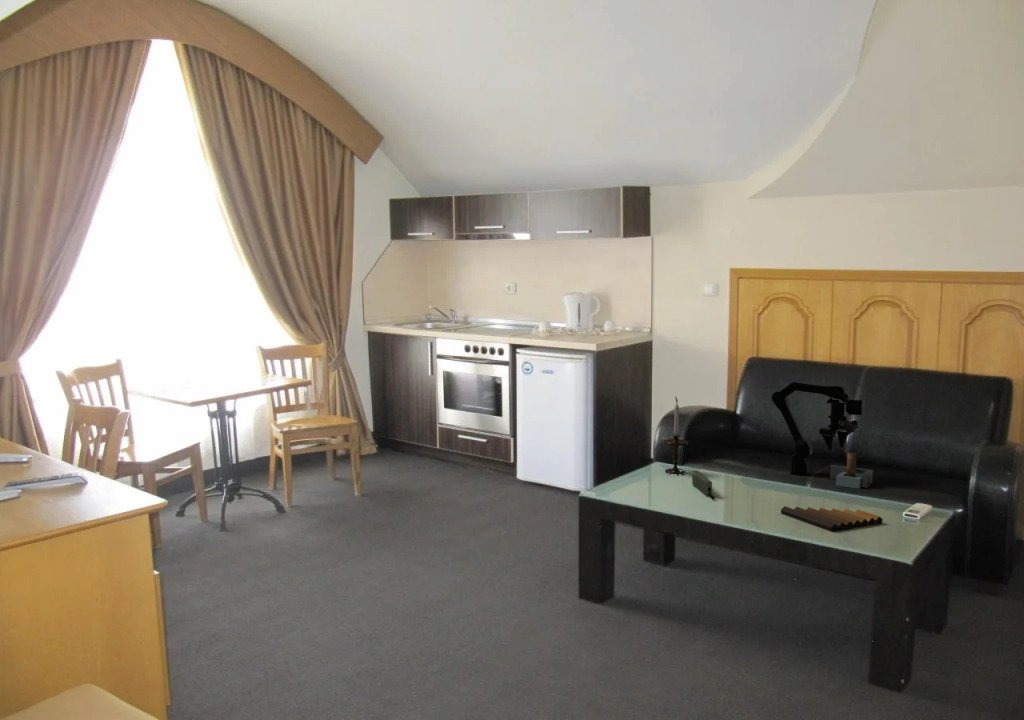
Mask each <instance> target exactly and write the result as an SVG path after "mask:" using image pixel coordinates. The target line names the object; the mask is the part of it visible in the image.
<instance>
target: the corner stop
mask: <svg viewBox="0 0 1024 720" xmlns="http://www.w3.org/2000/svg"><path fill="white" fill-rule="evenodd" d="M829 468H830V469H829V470H830V471H829V472H830V473H829V479H830V478H833V479H836V476H837V475H838V474H840V473H842V472H847V466H845V465H836V464H831V465H830V467H829ZM873 472H874V469H866V468H858V467H856V474H862V486H865V487H867V486H868V485H869V484H871V483H872V484H873V477H874V476H873ZM833 479H832V480H833ZM872 484H871V485H872Z"/></svg>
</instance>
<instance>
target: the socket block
mask: <svg viewBox="0 0 1024 720" xmlns="http://www.w3.org/2000/svg"><path fill="white" fill-rule="evenodd" d="M846 474H847V472H842V473H840V474H838V475H837V476H836V480H835V486H839V487H844V488H845V487H846V488H852V489H861V488H862V487H861V486H862V474H856V476H855V477H848V476H846ZM860 487H861V488H860Z"/></svg>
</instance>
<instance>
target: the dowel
mask: <svg viewBox="0 0 1024 720" xmlns="http://www.w3.org/2000/svg"><path fill="white" fill-rule="evenodd" d="M846 455H847V456H846V458H847V459H846V467H847V474H846V476H848V477H855V476H856V468H857V453H855V452H847V454H846Z"/></svg>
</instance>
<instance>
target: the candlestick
mask: <svg viewBox="0 0 1024 720" xmlns="http://www.w3.org/2000/svg"><path fill="white" fill-rule="evenodd" d="M674 398H675V402H676V403H675V406H674V415H673V416H674V419H673V420H674V424H673V434H671V436H672V437H673V438H667V439H664V440H663V444H664V445H665V446H671V447H673V449H674V450H673V451H674V452H673V453H674V454H673V455H672V459H673V460H672V463H673V467H672V468H667V469H665V471H664V473H665V472H666V473H669V474H668V475H670V474H684V473H685V472H686V470H684V469H681V468H678V463H679V461H678V460H679V457H680V456H679V455H678V448H679V447H683V446H688V445H689V440H686V439H679V437H681V434H679V422H680V421H679V420H680V418H679V417H680V416H679V415H680V406H679V404H678V398H677V396H676V395H675V396H674ZM679 470H684V471H681V472H680V471H679ZM666 473H665V474H666ZM685 474H686V473H685ZM685 474H684V475H685Z"/></svg>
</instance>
